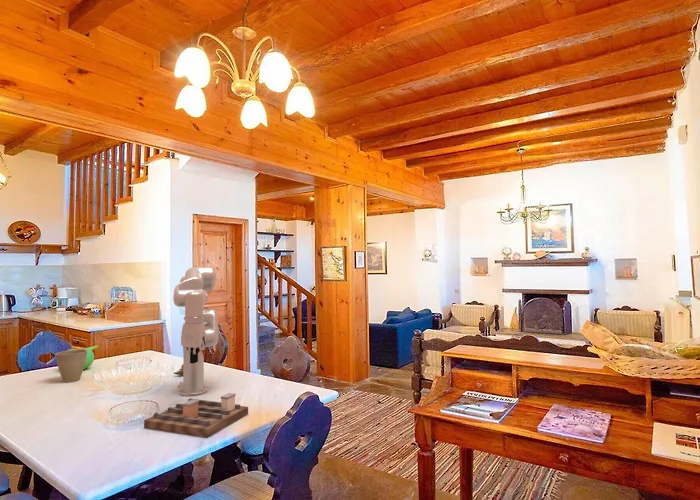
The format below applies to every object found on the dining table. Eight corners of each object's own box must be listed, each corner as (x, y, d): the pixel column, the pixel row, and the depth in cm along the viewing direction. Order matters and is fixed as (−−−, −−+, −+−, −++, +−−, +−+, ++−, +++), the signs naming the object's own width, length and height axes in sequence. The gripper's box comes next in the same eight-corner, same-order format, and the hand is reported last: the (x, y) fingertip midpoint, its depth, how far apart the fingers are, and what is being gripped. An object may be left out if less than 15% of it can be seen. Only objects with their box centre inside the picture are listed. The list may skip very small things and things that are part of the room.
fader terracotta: (182, 419, 160) (182, 403, 160) (191, 415, 165) (192, 399, 166) (189, 420, 159) (189, 404, 159) (198, 415, 164) (198, 400, 164)
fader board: (143, 427, 161) (144, 415, 161) (190, 406, 185) (190, 396, 186) (207, 437, 151) (207, 424, 151) (248, 413, 175) (248, 402, 175)
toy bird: (54, 372, 251) (54, 348, 252) (76, 366, 268) (77, 343, 268) (80, 373, 248) (80, 348, 249) (101, 366, 265) (101, 343, 266)
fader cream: (220, 411, 168) (220, 396, 169) (228, 407, 174) (228, 392, 174) (227, 412, 167) (227, 397, 168) (235, 408, 172) (235, 393, 173)
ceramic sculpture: (198, 361, 239) (172, 363, 238) (199, 376, 238) (173, 378, 238) (204, 357, 249) (179, 359, 249) (205, 371, 249) (180, 373, 248)
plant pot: (80, 375, 243) (80, 348, 243) (91, 379, 234) (92, 351, 235) (50, 381, 230) (51, 352, 231) (61, 385, 222) (61, 355, 222)
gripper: (174, 320, 178) (173, 363, 178) (202, 322, 173) (201, 366, 173) (186, 317, 185) (186, 358, 185) (214, 320, 180) (213, 362, 180)
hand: (193, 362), depth 179 cm, fingers closed
